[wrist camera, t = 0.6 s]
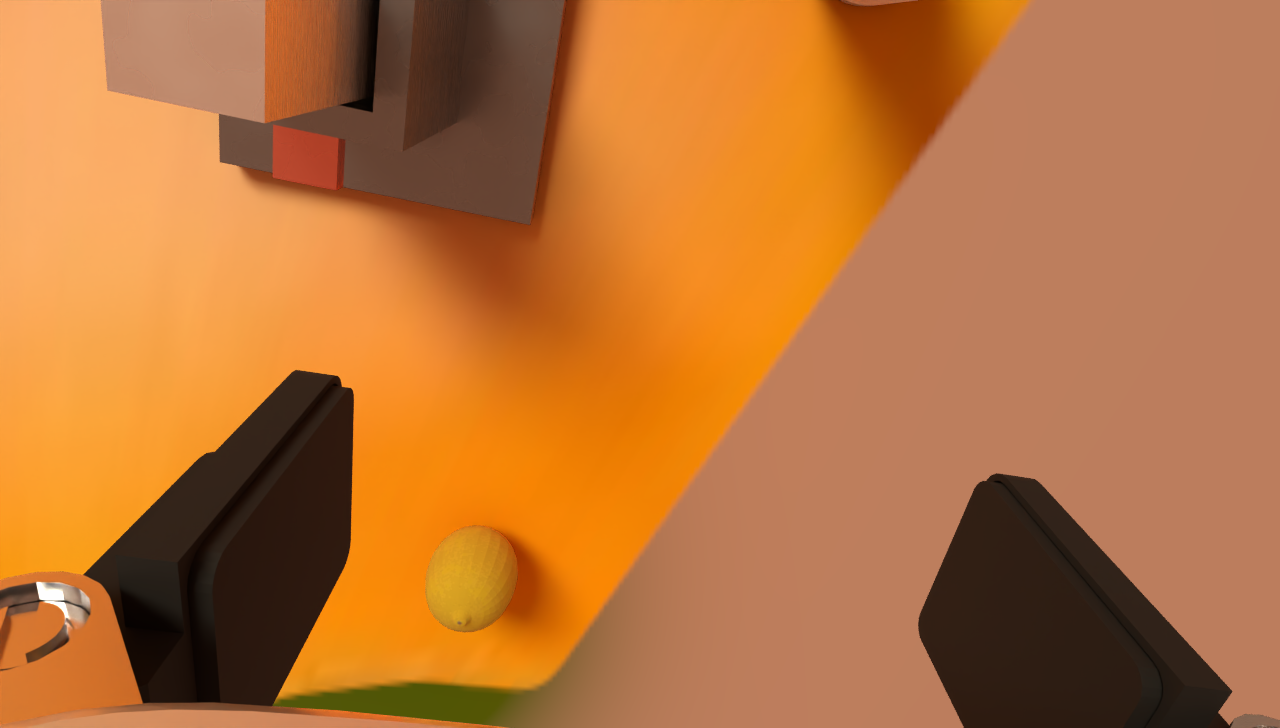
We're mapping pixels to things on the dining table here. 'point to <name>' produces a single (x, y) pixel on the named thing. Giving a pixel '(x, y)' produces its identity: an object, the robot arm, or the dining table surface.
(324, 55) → the steel post
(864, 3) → the travel mug
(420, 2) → the post stand
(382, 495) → the dining table surface
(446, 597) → the lemon
